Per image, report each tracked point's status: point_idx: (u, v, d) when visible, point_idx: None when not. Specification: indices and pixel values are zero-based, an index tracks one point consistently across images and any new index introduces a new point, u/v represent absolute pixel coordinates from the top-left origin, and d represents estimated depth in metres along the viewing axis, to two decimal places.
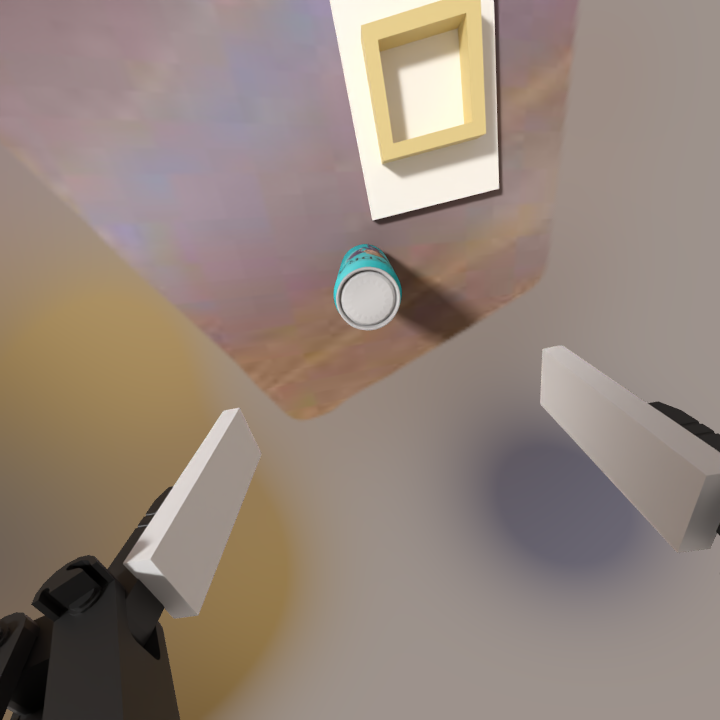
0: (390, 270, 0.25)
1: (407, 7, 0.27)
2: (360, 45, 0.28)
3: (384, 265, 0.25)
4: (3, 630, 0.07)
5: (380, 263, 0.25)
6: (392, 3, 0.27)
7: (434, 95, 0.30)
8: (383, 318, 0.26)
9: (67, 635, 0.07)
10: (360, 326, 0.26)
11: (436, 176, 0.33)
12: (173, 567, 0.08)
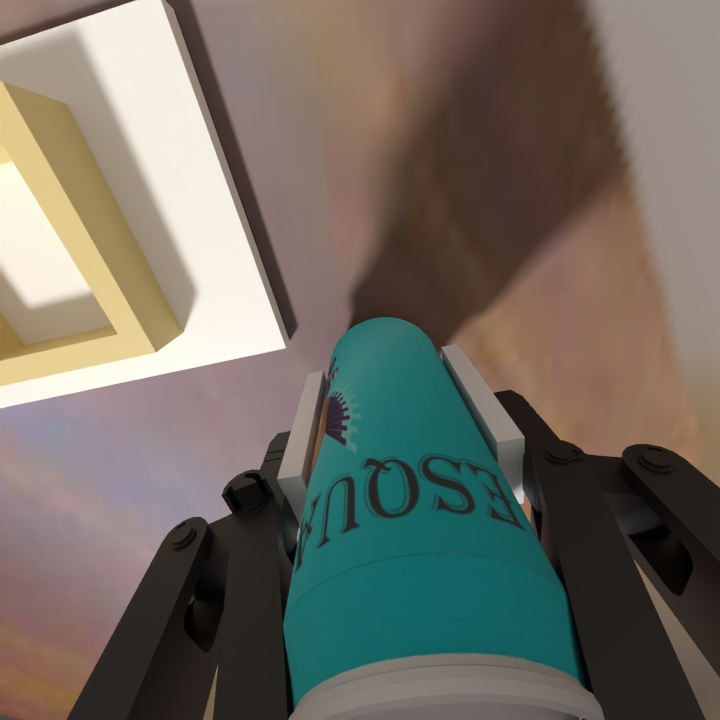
0: (314, 605, 0.05)
1: None
2: None
3: (296, 614, 0.06)
4: (192, 530, 0.08)
5: (288, 624, 0.06)
6: None
7: (34, 232, 0.14)
8: (563, 719, 0.04)
9: (242, 529, 0.08)
10: None
11: (175, 211, 0.14)
12: None
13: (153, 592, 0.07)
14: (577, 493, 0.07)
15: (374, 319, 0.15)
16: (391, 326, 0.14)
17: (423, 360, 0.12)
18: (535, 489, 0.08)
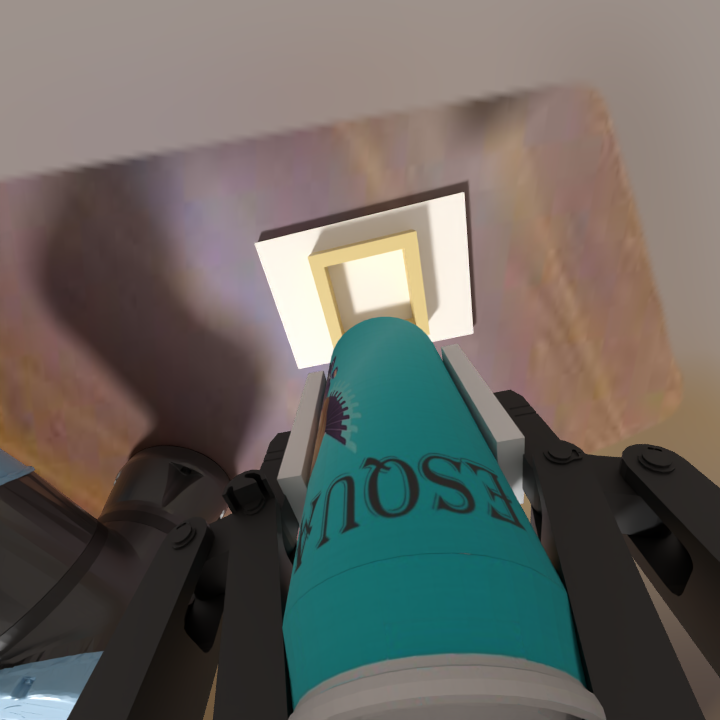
0: (314, 605, 0.05)
1: (315, 308, 0.33)
2: None
3: (295, 614, 0.05)
4: (192, 529, 0.08)
5: (288, 624, 0.06)
6: (313, 320, 0.33)
7: (374, 279, 0.31)
8: None
9: (241, 529, 0.08)
10: None
11: (441, 270, 0.31)
12: None
13: (153, 592, 0.07)
14: (577, 493, 0.07)
15: (374, 318, 0.15)
16: (391, 325, 0.14)
17: (423, 360, 0.11)
18: (535, 489, 0.08)
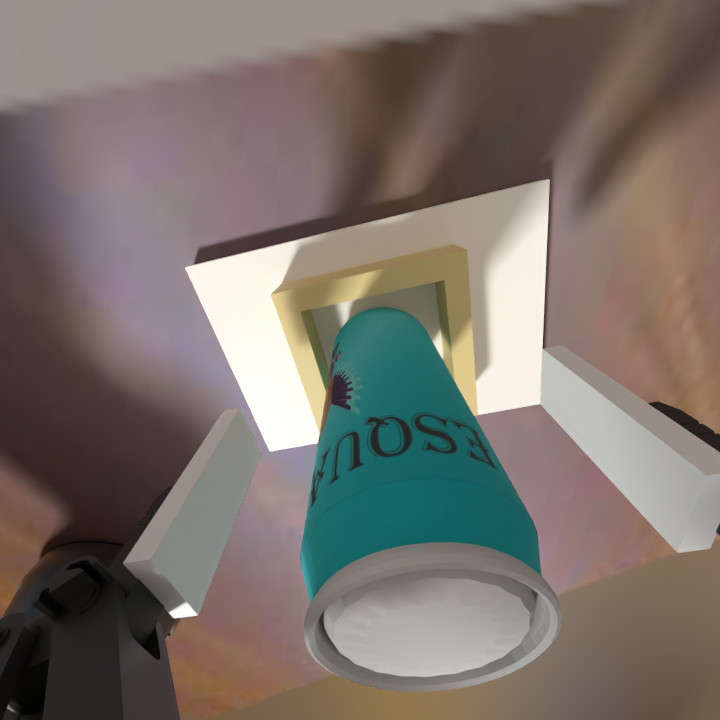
0: (329, 522, 0.07)
1: (292, 367, 0.20)
2: None
3: (313, 533, 0.07)
4: (3, 630, 0.07)
5: (307, 542, 0.07)
6: (290, 384, 0.21)
7: None
8: (520, 596, 0.06)
9: (67, 635, 0.07)
10: (530, 641, 0.07)
11: (498, 311, 0.19)
12: (173, 567, 0.08)
13: None
14: None
15: (373, 309, 0.17)
16: (389, 315, 0.16)
17: (417, 343, 0.13)
18: None
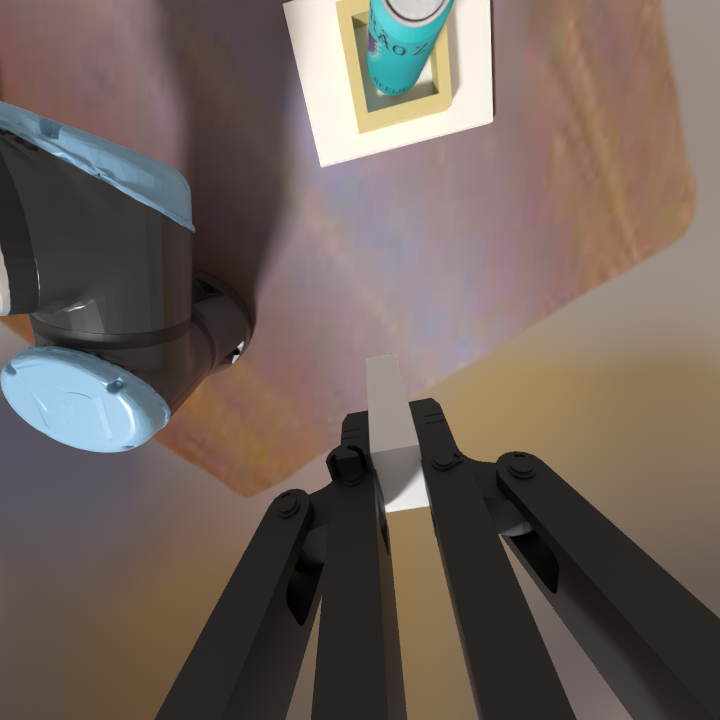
0: None
1: (339, 87, 0.33)
2: (362, 134, 0.35)
3: None
4: (296, 502, 0.08)
5: None
6: (337, 103, 0.34)
7: None
8: None
9: (341, 497, 0.08)
10: None
11: (463, 40, 0.32)
12: None
13: (261, 555, 0.07)
14: (460, 495, 0.08)
15: None
16: None
17: None
18: (430, 497, 0.09)
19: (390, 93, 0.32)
